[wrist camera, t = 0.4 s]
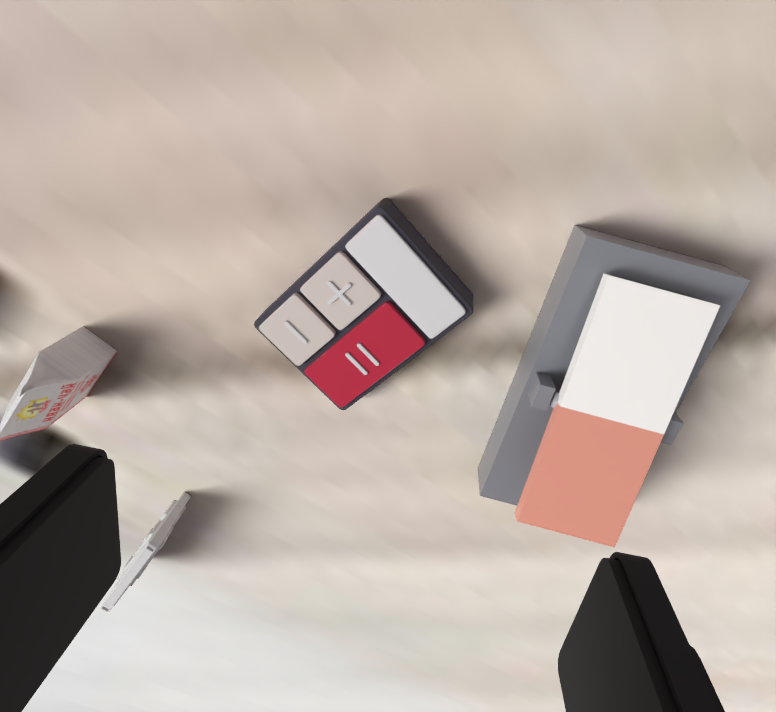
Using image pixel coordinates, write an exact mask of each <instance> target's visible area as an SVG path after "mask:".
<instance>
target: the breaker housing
mask: <svg viewBox="0 0 776 712" xmlns="http://www.w3.org/2000/svg"><path fill="white" fill-rule="evenodd" d="M603 273H604V274H607V275H611V276H615V277H618V278H622V279H626V280H629V281H633V282H637V283H640V284H644V285H648V286H651V287H655V288H659V289H662V290H666V291H670V292H673V293H677V294H681V295H684V296H688V297H692V298H695V299H699V300H703V301H706V302H710V303H713V304H717V305H720V308H719V310H718V312H717V314H716V317H715V319H714V321H713V324H712V326H711V328H710V330H709V333H708V335H707V337H706V340H705V342H704V344H703V346H702V349H701V351H700V353H699V356H698V358H697V360H696V362H695V365H694V367H693V369H692V372H691V374H690V376H689V378H688V381H687V383H686V385H685V388H684V390H683V392H682V394H681V397H680V399H679V401H678V404H677V406H676V408H675V410H674V413H673V415H672V417H671V420H670V422H669V424H668V427H667V429H666V431H665V433H664V436H663V438H662V440H661V442H663V443H667V444H672V442H673V440H674V438H675V437H676V435H677V433H678V432H679V430H680V428H681V426H682V425H683V422H682V421H681V420H680V418H679V417H678V416H677V414H676V411H677V409H678V408H679V406H680V404H681V402H682V401H683V399H684V397H685V395H686V393H687V392H688V390H689V388H690V386H691V385H692V383H693V381H694V379H695V378H696V376H697V374H698V372H699V371H700V369H701V367H702V365H703V364H704V362H705V360H706V358H707V356H708V355H709V353H710V351H711V349H712V348H713V346H714V344H715V342H716V341H717V339H718V337H719V335H720V334H721V332H722V330H723V328H724V327H725V325H726V323H727V321H728V319H729V318H730V316H731V314H732V312H733V311H734V309H735V307H736V305H737V304H738V302H739V300H740V298H741V297H742V295H743V293H744V291H745V290H746V288H747V286H748V284H749V282H750V280H748V279H747V278H745V277H743V276H741V275H739V274H738V273H736V272H734V271H732V270H731V269H729V268H727V267H725V266H723V265H719V264H715V263H712V262H708V261H704V260H701V259H697V258H693V257H690V256H686V255H682V254H679V253H675V252H672V251H668V250H664V249H661V248H657V247H653V246H650V245H646V244H642V243H639V242H635V241H631V240H628V239H624V238H620V237H617V236H613V235H609V234H606V233H602V232H598V231H595V230H591V229H587V228H584V227H580V226H576V225H575V226H574V228H573V231H572V233H571V236H570V238H569V241H568V243H567V246H566V248H565V251H564V253H563V256H562V258H561V261H560V263H559V266H558V268H557V271H556V273H555V276H554V278H553V281H552V283H551V286H550V288H549V291H548V293H547V296H546V298H545V301H544V303H543V306H542V308H541V311H540V314H539V316H538V319H537V321H536V324H535V326H534V329H533V331H532V334H531V336H530V339H529V341H528V344H527V346H526V349H525V351H524V354H523V356H522V359H521V361H520V364H519V366H518V369H517V371H516V374H515V376H514V379H513V381H512V384H511V386H510V389H509V391H508V394H507V396H506V399H505V401H504V404H503V406H502V409H501V411H500V414H499V416H498V419H497V422H496V424H495V427H494V429H493V432H492V434H491V437H490V439H489V442H488V444H487V447H486V449H485V452H484V454H483V457H482V459H481V462H480V464H479V467H478V478H479V490H480V496H483V497H487V498H491V499H494V500H498V501H502V502H506V503H509V504H513V505H518V503H519V500H520V497H521V495H522V492H523V489H524V487H525V484H526V481H527V478H528V476H529V473H530V470H531V468H532V465H533V462H534V460H535V457H536V454H537V451H538V449H539V446H540V443H541V441H542V438H543V435H544V433H545V430H546V427H547V425H548V422H549V419H550V416H551V414H552V411H553V407H550V401H551V399H552V397H553V394H554V392H558V393H559V392H560V389H561V387H562V384H563V381H564V379H565V376H566V373H567V371H568V368H569V365H570V362H571V360H572V357H573V354H574V352H575V349H576V346H577V344H578V341H579V338H580V336H581V333H582V330H583V327H584V325H585V322H586V319H587V317H588V314H589V311H590V309H591V306H592V303H593V300H594V298H595V295H596V292H597V290H598V287H599V284H600V282H601V279H602V276H603Z"/></svg>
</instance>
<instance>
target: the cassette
mask: <svg viewBox="0 0 776 712" xmlns="http://www.w3.org/2000/svg"><path fill="white" fill-rule="evenodd" d="M190 498H191V496H190V495H189V494H187V493H186V492H184V493H183V494H182V496H181V497H180V498H179V500H178V501H176V500H174V501H173V502H172V504H171V505H170V506H169V508H168V509H167V510H166V512H165V513H164V515H163V516H162V517H161V519H160V520H159V521H158V523H157V524H156V525H155V527H154V528H152V529H151V531H150V532H149V533H148V535H147V536H146V538H145V539H144V540H143V543H142V545H141V546H140V548H139V549H138V550H137V552H136V553H135V554H134V556H132V557H131V558H130V560H129V561H128V562H127V564H126V565H125V566H124V568H123V569H122V570H123V571H122V572H121V574H120V575H119V577H118V579H119V581H118V582H117V584H116V585H115V587H114V588H113V590H112V591H111V592H110V594H109V595H108V597H107V598H106V600H105V603H104V604H103V606H102V607H101V609H103V610H105V611H106V612H109V611H110V609H111V608H112V607H113V606H114V605H115V604H116V603H117V602H118V600H119V599H120V598H121V596H122V595H123V594H124V592H125V591H126V590H127V588H128V587H129V586H132V585H133V583H134V582H135V581H136V579H138V578H139V577H140V576H141V574H142V573H143V571H144V570H145V568H146V567H147V565H148V563H149V562H150V561H151V559H152V558H153V557H154V556H155V554H156V553H157V552H158V551H160V549H161V548H162V547H163V545H164V544H165V542H166V541H167V539H168V536H169V535H170V533H171V532H172V530H173V527H174V526H175V524H176V523H177V521H178V520H179V518H180V517H181V515H182V514H183V513H184V511H185V510H186V508H187V507H186V506H185V505H186V504H187V502H188V501H189V499H190Z"/></svg>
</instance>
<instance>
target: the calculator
mask: <svg viewBox="0 0 776 712" xmlns="http://www.w3.org/2000/svg"><path fill="white" fill-rule="evenodd" d="M472 313H473V294H472V292H471V291H470V290H469V289H468V288H467V287H466V286H465V284H464V283H463V282H462V281H461V280H460V279H459V278H458V276H457V275H456V274H455V273H454V272H453V271H452V270H451V269H450V267H449V266H448V265H447V264H446V263H445V262H444V261H443V259H442V258H441V257H440V256H439V255H438V254H437V253H436V251H435V250H434V249H433V248H432V247H431V246H430V245H429V244H428V242H427V241H426V240H425V239H424V238H423V237H422V236H421V234H420V233H419V232H418V231H417V230H416V229H415V228H414V226H413V225H412V224H411V223H410V222H409V221H408V220H407V219H406V217H405V216H404V215H403V214H402V213H401V212H400V211H399V209H398V208H397V207H396V206H395V205H394V204H393V203H392V202H391V201H390V200H389V199H388V198H384V199H382V200H381V201H380V202H379V203H378V204H377V205H376V206H375V207H374V208H373V209H371V210H370V211H369V212H368V213H367V214H366V215H365V216H364V217H363V218H362V219H361V220H360V221H359V222H358V223H357V224H356V225H355V226H354V227H353V228H351V229H350V230H349V231H348V232H347V233H346V234H345V235H344V236H343V237H342V238H341V239H340V240H339V241H338V242H337V243H336V244H335V245H334V246H333V247H332V248H331V249H330V250H328V251H327V252H326V253H325V254H324V255H323V256H322V257H321V258H320V259H319V260H318V261H317V262H316V263H315V264H314V265H313V266H312V267H310V268H309V269H308V270H307V271H306V272H305V273H304V274H303V275H302V276H301V277H300V278H299V279H298V280H297V281H296V282H295V283H294V284H293V285H291V286H290V287H289V288H288V289H287V290H286V291H285V292H284V293H283V294H282V295H281V296H280V297H279V298H278V299H277V300H276V301H275V302H274V303H272V304H271V305H270V306H269V307H268V308H267V309H266V310H265V311H264V312H263V313H262V314H261V316H260V317H259V318H258V319H257V320H256V321H255V323H254V326H255V328H256V329H257V330H258V331H259V332H260V333H261V334H262V335H263V336H265V337H266V338H267V339H268V340H269V341H270V342H271V343H272V344H273V345H274V346H275V347H276V348H277V349H278V350H279V351H280V352H281V353H282V354H283V355H284V356H285V357H286V358H287V359H288V360H289V361H290V362H291V363H292V364H294V365H295V366H296V367H297V368H298V369H299V370H300V371H301V372H302V373H303V374H304V375H305V376H306V377H307V378H308V379H309V380H310V381H311V382H312V383H313V384H314V385H315V386H316V387H317V388H318V389H319V390H320V391H322V392H323V393H324V394H325V395H326V396H327V397H328V398H329V399H330V400H331V401H332V402H333V403H334V404H335V405H336V406H337V407H338V408H339V409H341V410H346V409H347V408H349V407H350V406H351V405H353V404H354V403H355V402H357V401H358V400H359V399H360V398H362V397H363V396H364V395H366V394H367V393H368V392H370V391H371V390H372V389H374V388H375V387H376V386H378V385H379V384H380V383H382V382H383V381H384V380H386V379H387V378H388V377H390V376H391V375H392V374H393V373H395V372H396V371H397V370H399V369H400V368H401V367H403V366H404V365H405V364H407V363H408V362H409V361H411V360H412V359H413V358H415V357H416V356H417V355H419V354H420V353H421V352H422V351H424V350H425V349H426V348H428V347H429V346H430V345H432V344H433V343H434V342H436V341H437V340H438V339H440V338H441V337H442V336H444V335H445V334H446V333H448V332H449V331H450V330H451V329H453V328H454V327H455V326H457V325H458V324H459V323H461V322H462V321H463V320H465V319H466V318H467V317H469V316H470V315H471V314H472Z"/></svg>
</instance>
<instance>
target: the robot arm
mask: <svg viewBox="0 0 776 712" xmlns="http://www.w3.org/2000/svg"><path fill="white" fill-rule="evenodd" d="M120 566H121V553H120V539H119V525H118V511H117V496H116V482H115V468H114V462H113V461H112V460H111V459H108V458H107V454H106V452H105V451H104V450H101V449H96V448H91V447H86V446H81V445H76V444H72V445H69V446H67V447H66V448H64V449H63V450H62V451H61V452H60V453H59V454H58V455H56V456H55V457H54V458H53V459H52V460H51V461H50V462H48V463H47V464H46V465H45V466H44V467H43V468H42V469H40V470H39V471H38V472H37V473H36V474H35V475H33V476H32V477H31V478H30V479H29V480H28V481H27V482H25V483H24V484H23V485H22V486H21V487H20V488H19V489H17V490H16V491H15V492H14V493H13V494H12V495H10V496H9V497H8V498H7V499H6V500H5V501H4V502H2V503H1V504H0V712H22V710H23V709H24V707H25V706H26V705H27V703H28V702H29V700H30V699H31V698H32V696H33V695H34V693H35V692H36V691H37V689H38V688H39V686H40V685H41V684H42V682H43V681H44V679H45V678H46V677H47V675H48V674H49V672H50V671H51V670H52V668H53V667H54V665H55V664H56V663H57V661H58V660H59V658H60V657H61V656H62V654H63V653H64V651H65V650H66V649H67V647H68V646H69V644H70V643H71V642H72V640H73V639H74V637H75V636H76V635H77V633H78V632H79V630H80V629H81V628H82V626H83V625H84V623H85V622H86V621H87V619H88V618H89V616H90V615H91V614H92V612H93V611H94V609H95V608H96V607H97V605H98V604H99V602H100V601H101V600H102V598H103V597H104V595H105V594H106V593H107V591H108V590H109V588H110V587H111V586H112V584H113V583H114V581H115V580H116V578H117V576H118V573H119V570H120ZM558 672H559V678H560V683H561V688H562V693H563V698H564V703H565V708H566V712H725V711H724V709H723V707H722V705H721V702H720V700H719V698H718V696H717V694H716V692H715V689H714V687H713V685H712V683H711V681H710V679H709V676H708V674H707V672H706V670H705V668H704V666H703V663H702V661H701V659H700V657H699V656H698V654H697V652H696V651H695V649H694V648H693V647H691V646H690V645H689V643H688V641H687V639H686V636H685V634H684V632H683V630H682V628H681V625H680V623H679V621H678V619H677V617H676V614H675V612H674V610H673V608H672V606H671V603H670V601H669V599H668V597H667V595H666V592H665V590H664V588H663V586H662V584H661V581H660V579H659V577H658V575H657V573H656V570H655V568H654V566H653V564H652V562H651V561H650V560H649V559H648V558H645V557H640V556H635V555H630V554H625V553H620V552H615V553H613V554H612V555H611V557H610V558H603V559H602V560H601V561H600V563H599V565H598V567H597V570H596V572H595V574H594V576H593V579H592V581H591V583H590V585H589V588H588V590H587V592H586V594H585V597H584V599H583V601H582V603H581V605H580V608H579V610H578V612H577V614H576V617H575V619H574V621H573V623H572V626H571V628H570V630H569V632H568V634H567V637H566V639H565V641H564V643H563V646H562V648H561V650H560V653H559V658H558Z"/></svg>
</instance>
